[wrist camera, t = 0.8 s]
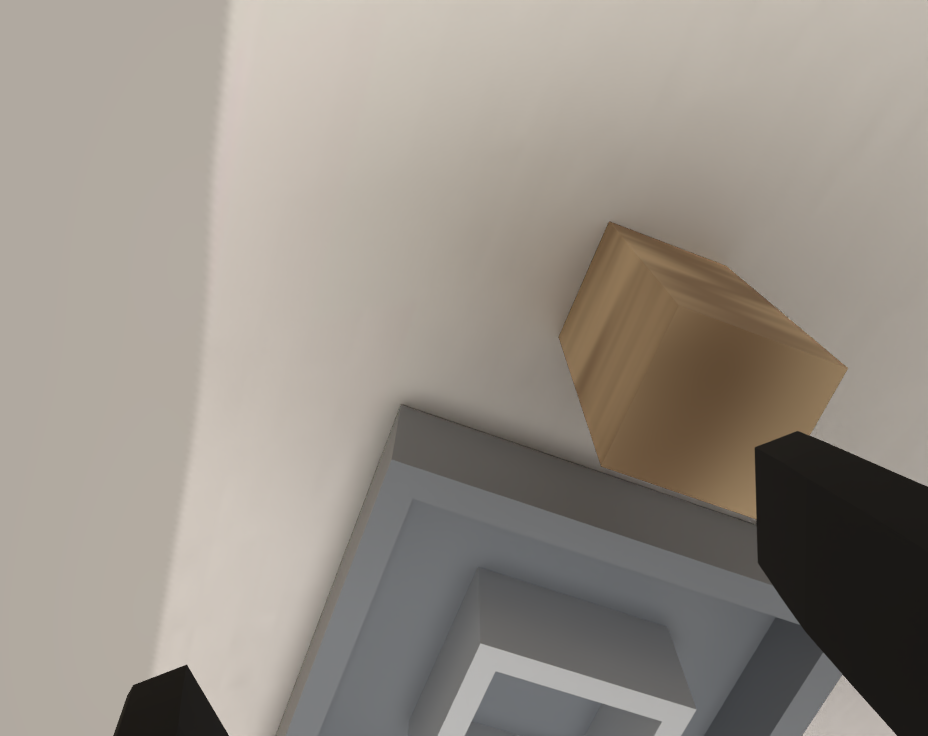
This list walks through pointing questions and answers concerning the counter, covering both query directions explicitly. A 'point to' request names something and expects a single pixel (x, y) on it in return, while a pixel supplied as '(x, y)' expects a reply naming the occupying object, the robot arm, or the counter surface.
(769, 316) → the peg
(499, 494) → the socket box
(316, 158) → the counter surface
